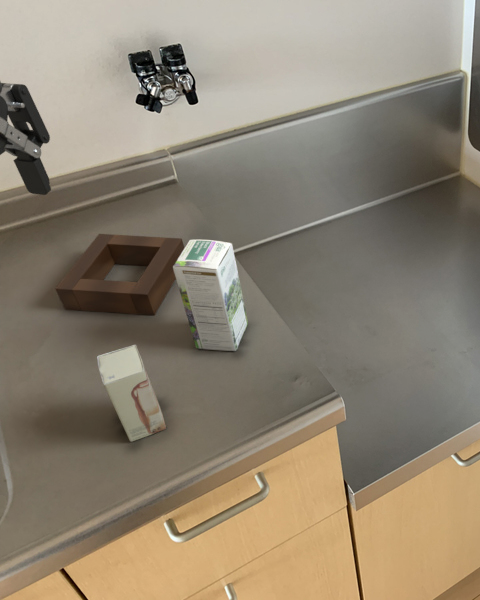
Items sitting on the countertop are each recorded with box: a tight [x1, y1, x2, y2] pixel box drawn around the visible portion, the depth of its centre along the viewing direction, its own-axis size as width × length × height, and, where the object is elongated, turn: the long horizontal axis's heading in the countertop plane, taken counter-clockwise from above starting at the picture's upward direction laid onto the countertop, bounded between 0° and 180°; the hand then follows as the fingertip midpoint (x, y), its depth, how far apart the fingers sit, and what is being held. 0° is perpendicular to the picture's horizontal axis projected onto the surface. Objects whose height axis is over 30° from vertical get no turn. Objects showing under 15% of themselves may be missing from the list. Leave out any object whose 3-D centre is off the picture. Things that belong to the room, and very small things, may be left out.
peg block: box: [54, 233, 185, 316], centre depth 92 cm, size 14×14×4 cm
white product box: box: [96, 344, 167, 443], centre depth 70 cm, size 5×4×10 cm
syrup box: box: [173, 239, 249, 352], centre depth 80 cm, size 6×6×14 cm
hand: (13, 215), depth 59 cm, fingers open, 8 cm apart
